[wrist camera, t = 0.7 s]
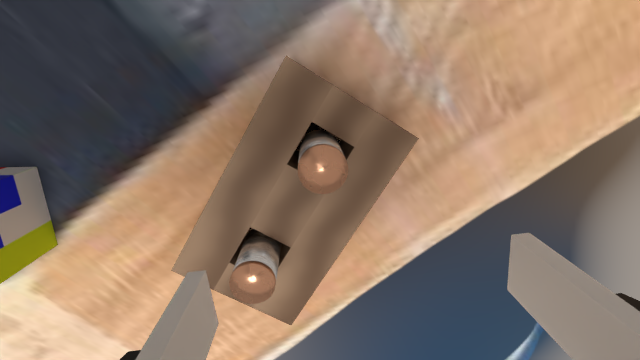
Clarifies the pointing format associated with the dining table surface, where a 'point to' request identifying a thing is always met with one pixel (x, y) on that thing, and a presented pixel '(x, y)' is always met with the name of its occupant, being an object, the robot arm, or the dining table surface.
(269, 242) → the peg
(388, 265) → the dining table surface
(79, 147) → the dining table surface
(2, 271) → the puzzle toy
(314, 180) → the peg
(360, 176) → the socket block
